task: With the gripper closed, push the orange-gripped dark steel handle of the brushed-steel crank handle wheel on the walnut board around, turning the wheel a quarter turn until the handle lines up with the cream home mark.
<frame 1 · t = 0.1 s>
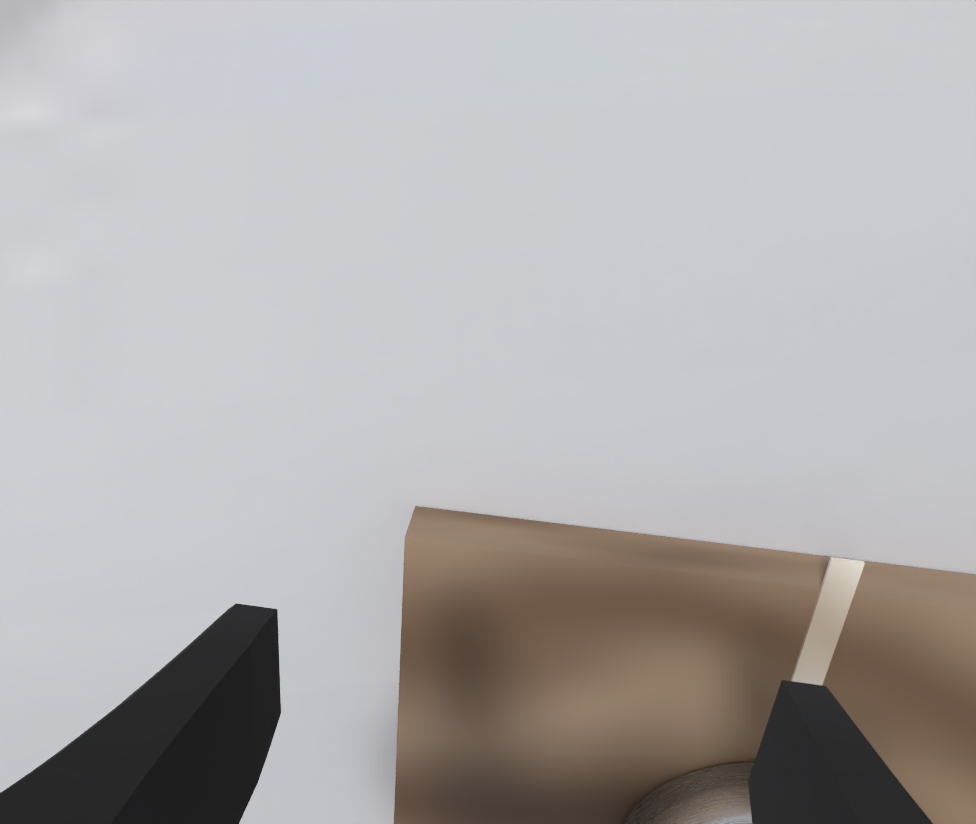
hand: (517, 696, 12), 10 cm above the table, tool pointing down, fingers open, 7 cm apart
walnut board: (740, 807, 26), on the table
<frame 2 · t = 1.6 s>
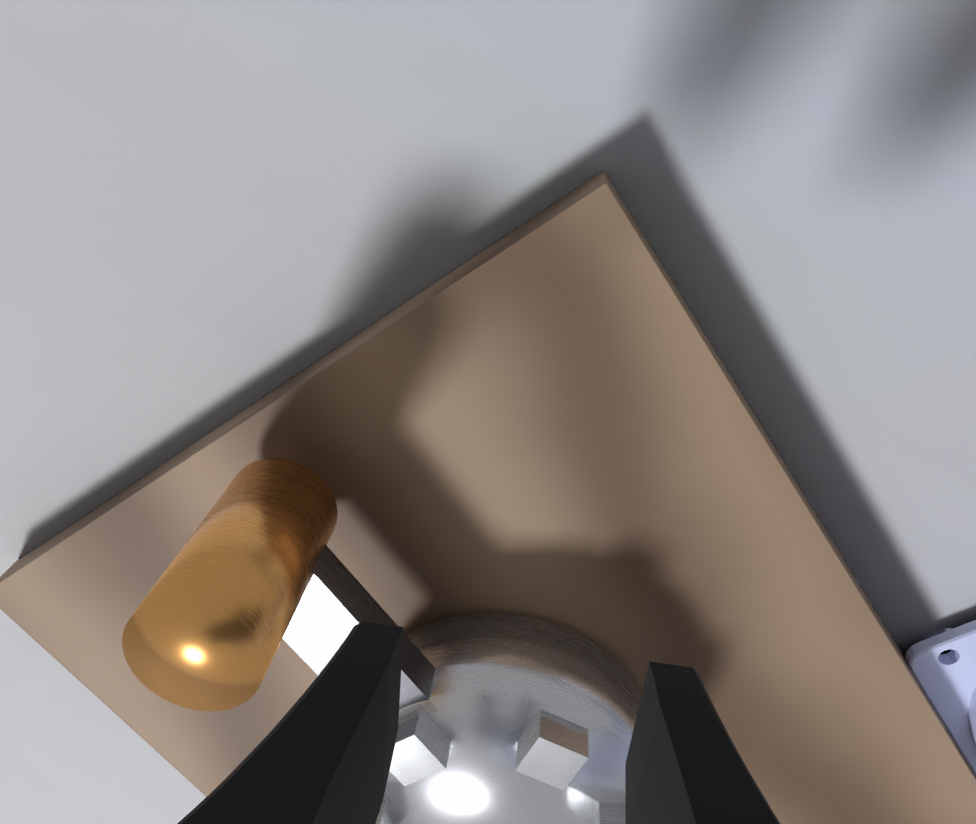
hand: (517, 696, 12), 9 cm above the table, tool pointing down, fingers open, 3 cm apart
crank handle wheel: (416, 737, 19), point 5 cm above the table, hinge at 0.0°
walnut board: (507, 682, 24), on the table
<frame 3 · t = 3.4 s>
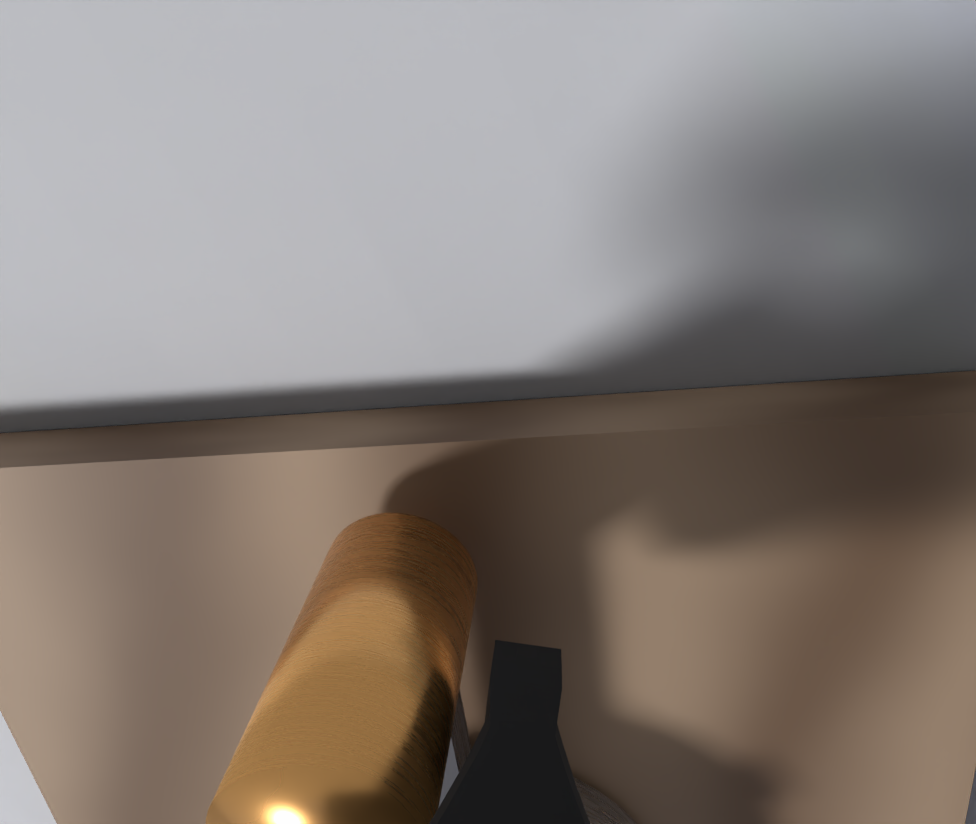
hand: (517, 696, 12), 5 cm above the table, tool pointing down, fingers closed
walnut board: (488, 813, 20), on the table
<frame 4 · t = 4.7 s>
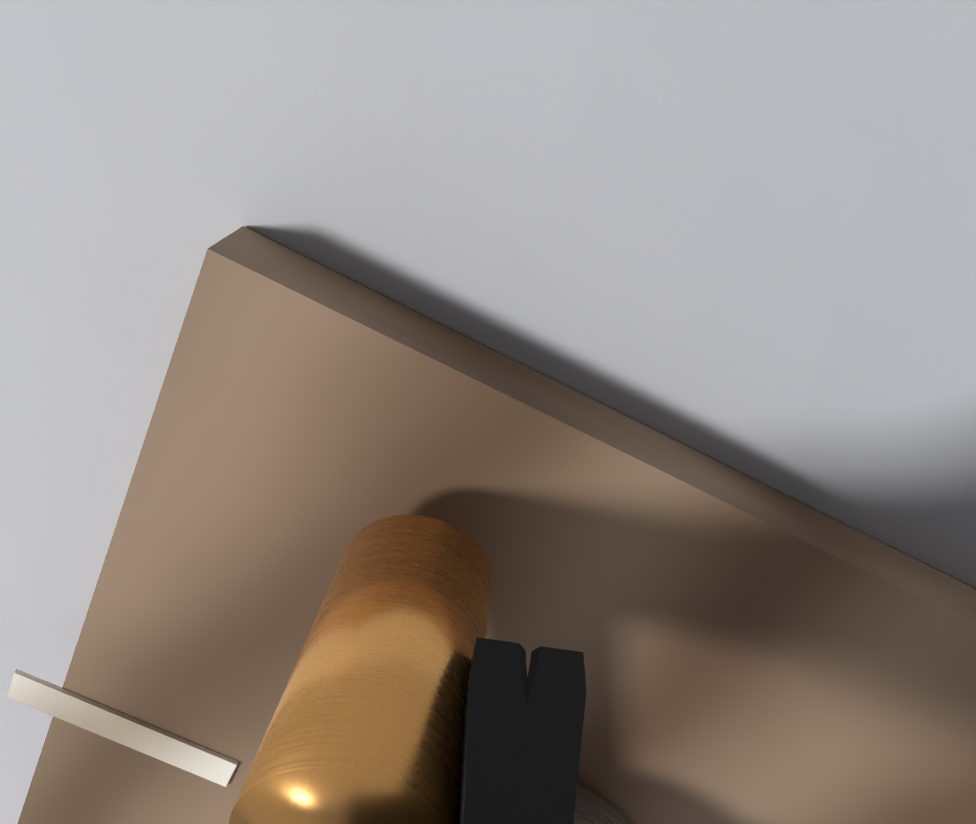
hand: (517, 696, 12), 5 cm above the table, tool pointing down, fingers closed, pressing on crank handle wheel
walnut board: (485, 816, 20), on the table
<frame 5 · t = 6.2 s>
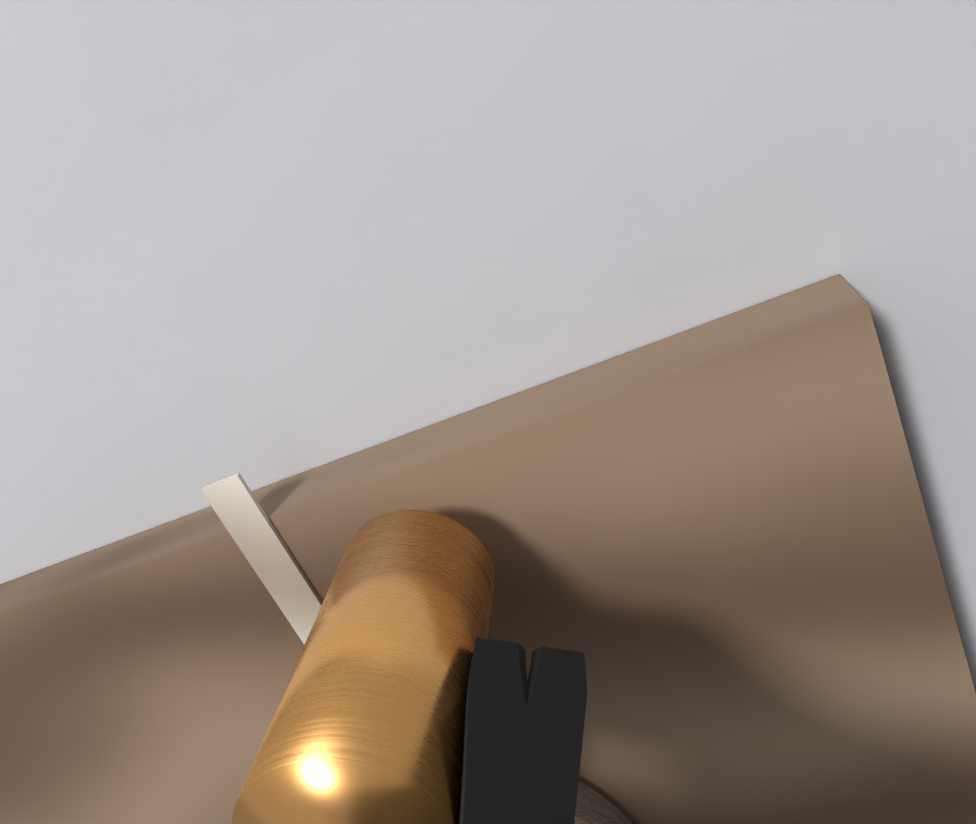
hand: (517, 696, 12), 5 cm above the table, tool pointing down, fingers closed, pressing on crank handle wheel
walnut board: (484, 813, 20), on the table
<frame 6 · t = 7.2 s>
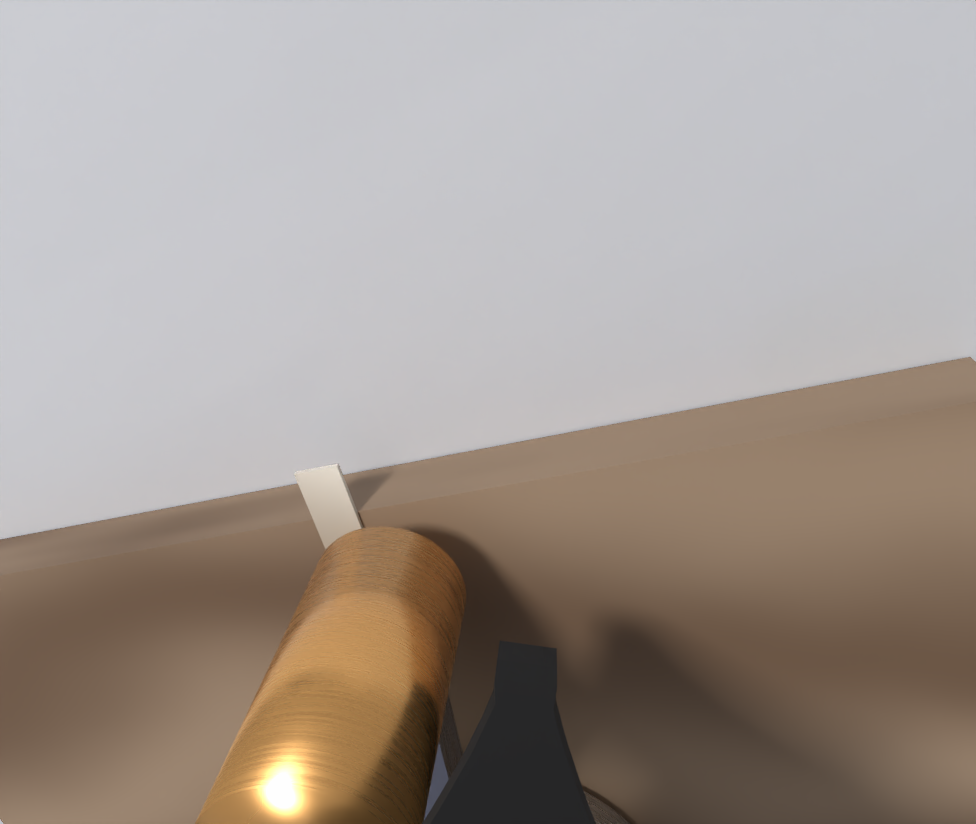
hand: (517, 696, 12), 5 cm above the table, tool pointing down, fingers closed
walnut board: (490, 820, 20), on the table
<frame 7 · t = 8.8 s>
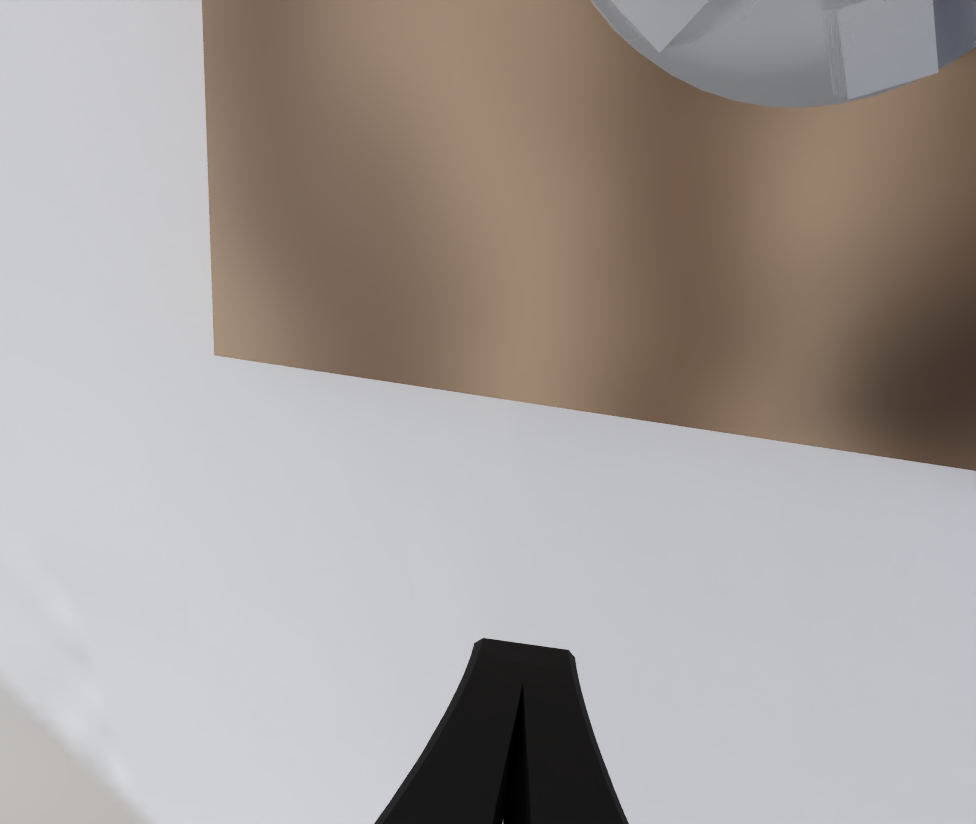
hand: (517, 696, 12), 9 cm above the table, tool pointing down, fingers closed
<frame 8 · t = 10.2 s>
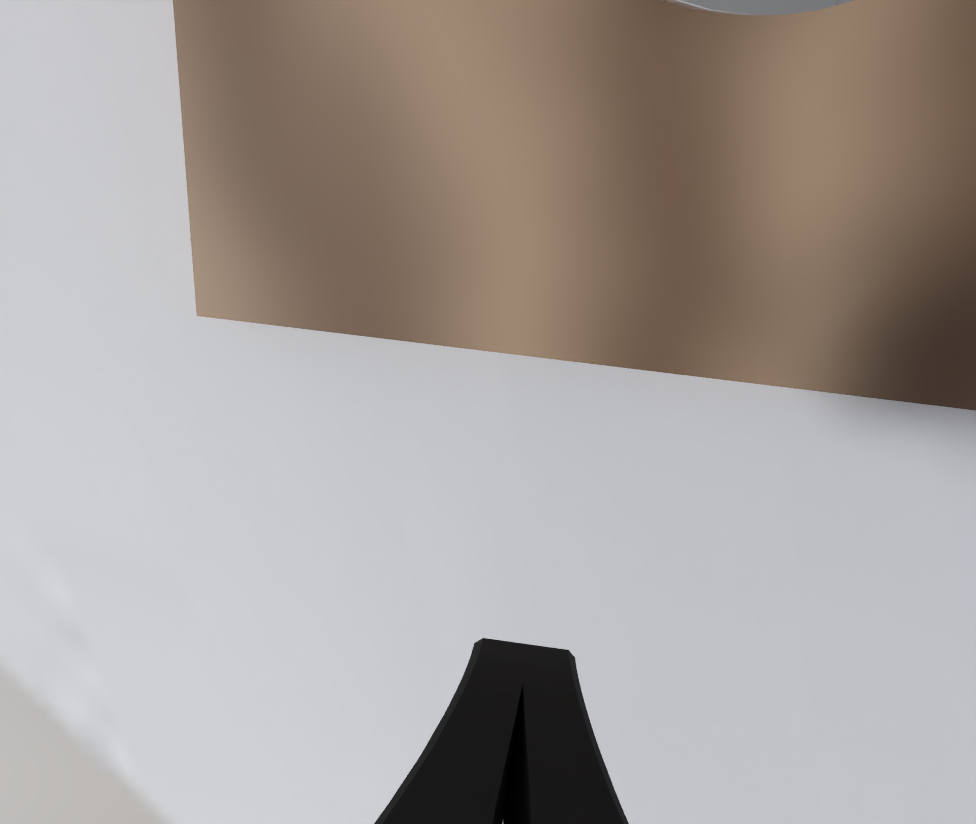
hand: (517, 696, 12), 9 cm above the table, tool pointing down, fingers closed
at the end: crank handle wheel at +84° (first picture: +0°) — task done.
